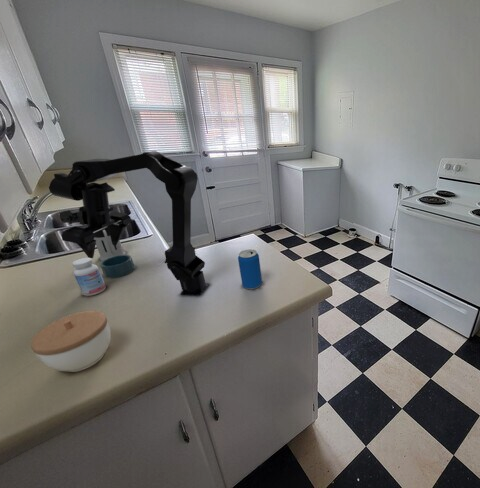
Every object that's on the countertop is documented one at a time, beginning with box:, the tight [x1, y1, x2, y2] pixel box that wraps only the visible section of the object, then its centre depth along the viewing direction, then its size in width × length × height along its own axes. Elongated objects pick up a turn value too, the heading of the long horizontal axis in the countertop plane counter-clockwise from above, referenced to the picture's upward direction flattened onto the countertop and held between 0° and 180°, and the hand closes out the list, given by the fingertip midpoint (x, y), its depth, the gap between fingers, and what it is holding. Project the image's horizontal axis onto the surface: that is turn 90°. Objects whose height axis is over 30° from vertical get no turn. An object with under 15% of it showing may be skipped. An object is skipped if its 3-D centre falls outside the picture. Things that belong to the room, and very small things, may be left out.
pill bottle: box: [72, 257, 107, 297], centre depth 86 cm, size 6×6×11 cm
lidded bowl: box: [29, 310, 112, 373], centre depth 61 cm, size 13×13×11 cm
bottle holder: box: [99, 254, 136, 279], centre depth 100 cm, size 9×9×4 cm
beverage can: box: [237, 248, 263, 290], centre depth 88 cm, size 6×6×12 cm
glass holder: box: [94, 227, 127, 262], centre depth 108 cm, size 9×14×15 cm, turn 43°
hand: (103, 251), depth 84 cm, fingers open, 9 cm apart
